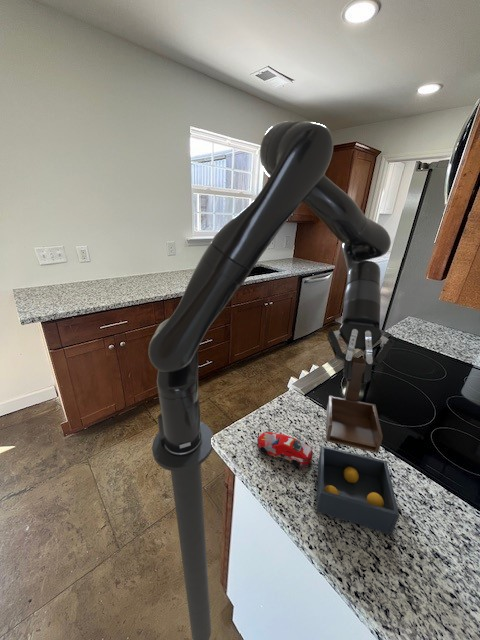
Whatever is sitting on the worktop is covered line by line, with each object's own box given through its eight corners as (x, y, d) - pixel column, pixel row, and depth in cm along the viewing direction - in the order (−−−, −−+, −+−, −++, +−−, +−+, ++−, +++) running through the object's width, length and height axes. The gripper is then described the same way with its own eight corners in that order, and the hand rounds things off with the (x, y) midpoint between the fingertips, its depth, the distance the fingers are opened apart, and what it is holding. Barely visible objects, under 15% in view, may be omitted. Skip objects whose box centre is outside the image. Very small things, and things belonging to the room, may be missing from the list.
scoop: (326, 402, 61) (335, 354, 56) (369, 411, 59) (382, 361, 53) (326, 440, 51) (336, 385, 46) (378, 453, 49) (395, 396, 43)
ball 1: (329, 503, 50) (343, 501, 51) (324, 485, 52) (338, 483, 52) (323, 504, 52) (338, 502, 53) (319, 487, 54) (332, 485, 55)
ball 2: (339, 475, 58) (349, 488, 55) (341, 466, 56) (351, 479, 54) (350, 470, 59) (360, 483, 56) (352, 461, 57) (363, 474, 55)
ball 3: (389, 501, 51) (377, 489, 51) (384, 516, 49) (371, 504, 49) (378, 499, 53) (366, 487, 53) (372, 513, 52) (361, 501, 52)
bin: (316, 511, 51) (320, 492, 49) (318, 462, 61) (321, 445, 59) (391, 534, 48) (399, 515, 46) (380, 479, 58) (386, 461, 56)
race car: (253, 450, 64) (254, 437, 63) (262, 434, 69) (262, 422, 67) (307, 473, 59) (309, 460, 57) (313, 454, 63) (315, 442, 62)
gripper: (330, 294, 58) (322, 372, 52) (401, 301, 54) (401, 385, 48) (327, 309, 65) (319, 379, 59) (390, 315, 61) (389, 391, 55)
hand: (356, 381), depth 53 cm, fingers closed on scoop, 2 cm apart
